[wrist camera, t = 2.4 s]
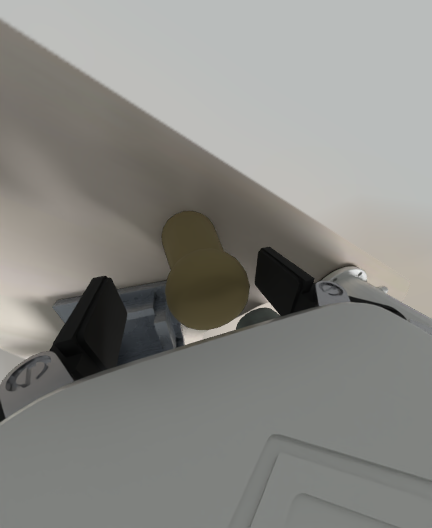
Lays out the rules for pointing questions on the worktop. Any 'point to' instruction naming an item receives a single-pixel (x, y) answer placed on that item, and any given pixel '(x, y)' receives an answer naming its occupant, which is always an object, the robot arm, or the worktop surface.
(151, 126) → the worktop surface
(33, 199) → the worktop surface
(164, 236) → the cork
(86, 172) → the worktop surface
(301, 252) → the worktop surface
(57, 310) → the clip bracket
